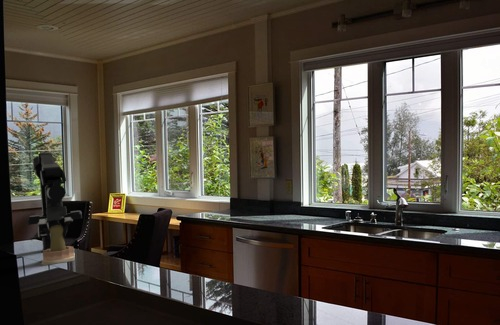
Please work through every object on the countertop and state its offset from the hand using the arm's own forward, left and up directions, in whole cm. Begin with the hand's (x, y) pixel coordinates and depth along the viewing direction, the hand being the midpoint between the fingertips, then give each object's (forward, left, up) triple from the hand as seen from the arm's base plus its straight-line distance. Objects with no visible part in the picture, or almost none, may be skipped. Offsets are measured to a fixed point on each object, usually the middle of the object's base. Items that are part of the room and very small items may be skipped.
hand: (57, 239), depth 164 cm
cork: (0, 0, -6) cm, 6 cm away
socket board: (0, 0, -8) cm, 8 cm away
